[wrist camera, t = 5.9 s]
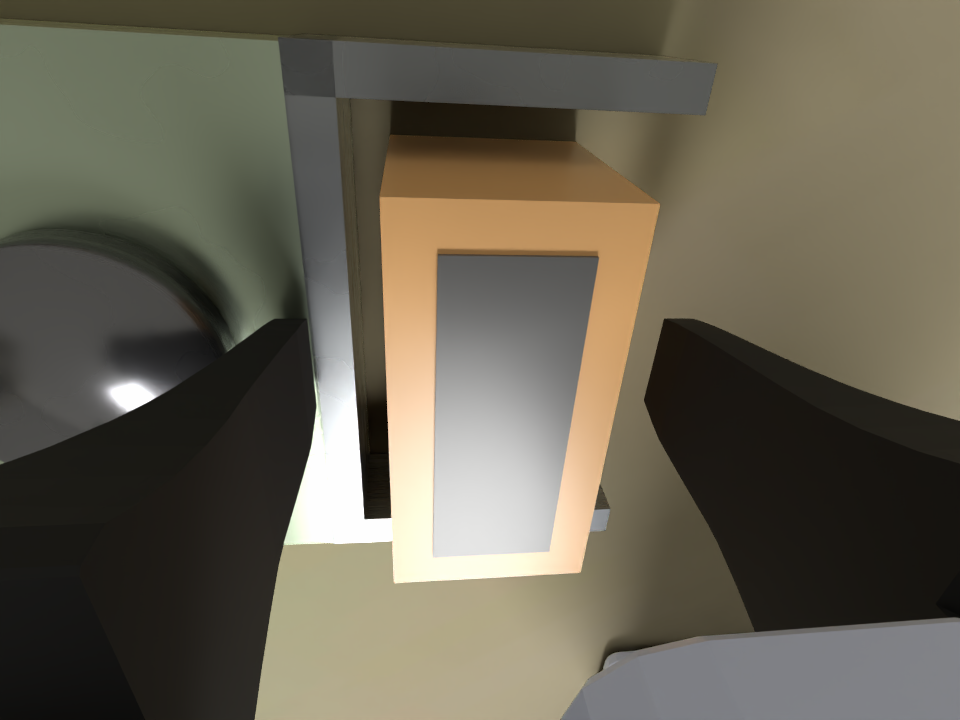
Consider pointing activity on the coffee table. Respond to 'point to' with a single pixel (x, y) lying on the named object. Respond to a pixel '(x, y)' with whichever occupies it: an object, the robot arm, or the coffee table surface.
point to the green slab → (227, 216)
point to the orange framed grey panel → (503, 347)
